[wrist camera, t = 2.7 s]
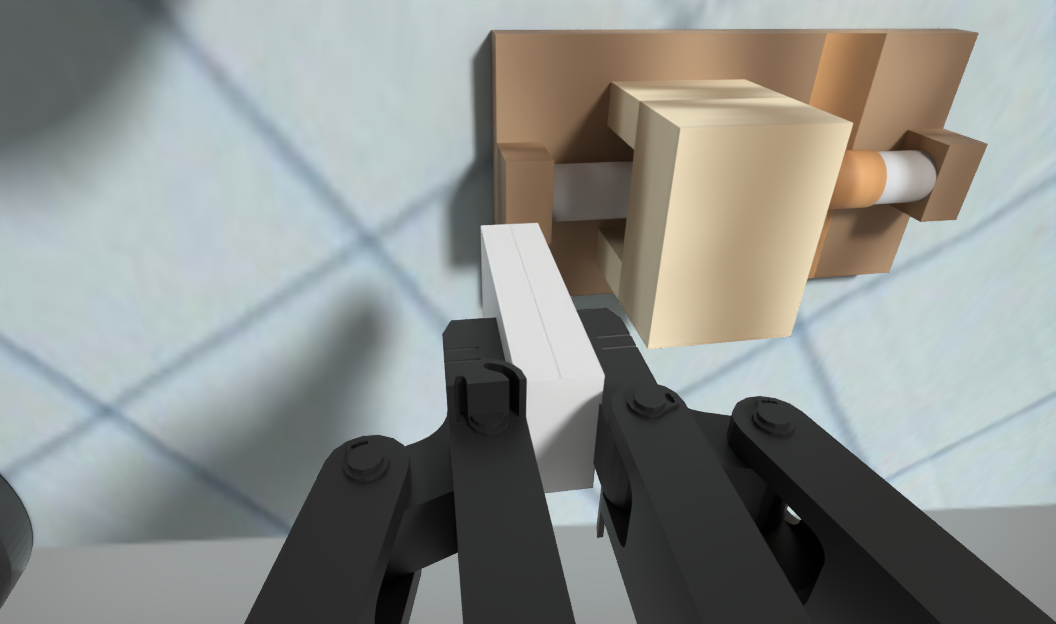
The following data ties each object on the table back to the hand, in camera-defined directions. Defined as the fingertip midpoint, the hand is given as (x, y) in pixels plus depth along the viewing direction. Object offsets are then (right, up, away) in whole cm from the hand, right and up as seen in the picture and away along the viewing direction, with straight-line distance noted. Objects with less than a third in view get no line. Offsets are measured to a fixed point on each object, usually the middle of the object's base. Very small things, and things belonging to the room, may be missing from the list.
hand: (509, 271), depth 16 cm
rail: (+8, +5, +8) cm, 13 cm away
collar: (+6, +4, +7) cm, 10 cm away
